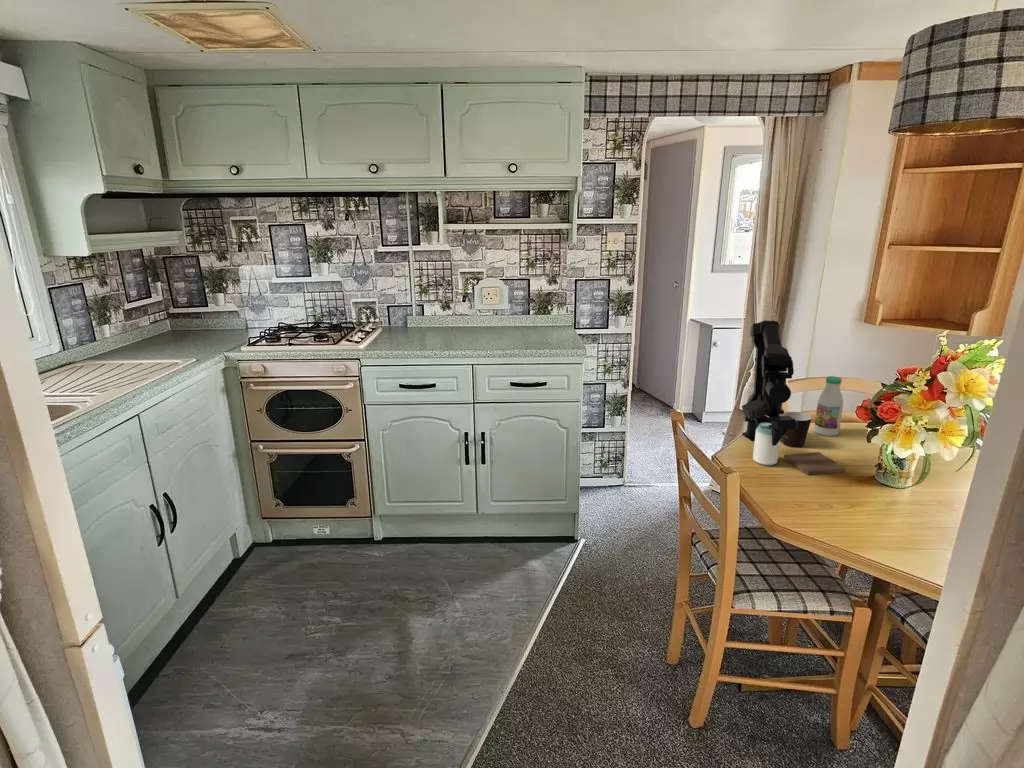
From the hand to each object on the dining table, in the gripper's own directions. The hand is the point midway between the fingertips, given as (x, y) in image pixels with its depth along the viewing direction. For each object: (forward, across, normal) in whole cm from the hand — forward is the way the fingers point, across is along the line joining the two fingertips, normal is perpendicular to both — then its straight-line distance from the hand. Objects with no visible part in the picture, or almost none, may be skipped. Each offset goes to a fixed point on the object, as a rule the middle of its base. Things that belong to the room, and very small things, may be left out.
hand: (767, 440), depth 176 cm
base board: (+7, +5, +13) cm, 16 cm away
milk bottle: (+7, -18, +34) cm, 39 cm away
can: (+7, 0, 0) cm, 7 cm away
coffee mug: (+7, -12, +18) cm, 23 cm away
